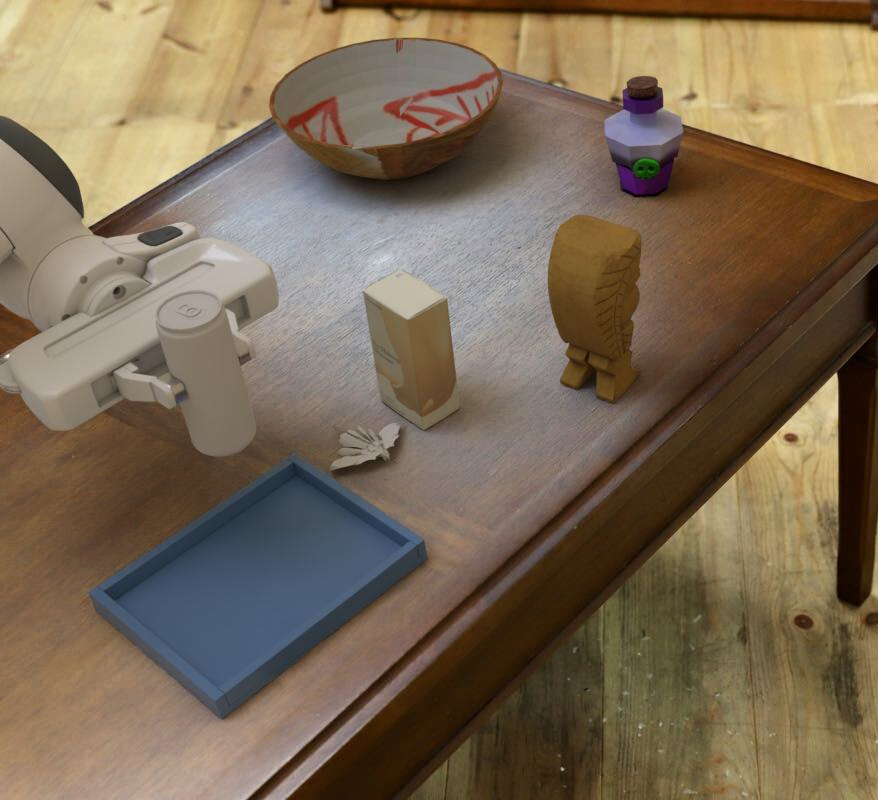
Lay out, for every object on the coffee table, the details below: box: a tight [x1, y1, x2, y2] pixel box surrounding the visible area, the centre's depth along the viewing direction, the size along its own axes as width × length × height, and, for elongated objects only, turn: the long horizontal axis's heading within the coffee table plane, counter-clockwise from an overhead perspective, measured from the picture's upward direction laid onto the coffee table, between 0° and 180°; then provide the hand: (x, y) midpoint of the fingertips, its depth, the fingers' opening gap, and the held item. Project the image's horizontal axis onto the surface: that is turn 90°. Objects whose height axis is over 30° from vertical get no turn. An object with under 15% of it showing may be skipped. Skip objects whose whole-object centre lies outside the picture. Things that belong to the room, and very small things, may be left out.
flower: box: [329, 420, 403, 471], centre depth 116 cm, size 8×8×3 cm
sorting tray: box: [87, 453, 428, 720], centre depth 104 cm, size 20×16×2 cm
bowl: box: [268, 37, 504, 181], centre depth 151 cm, size 25×25×8 cm
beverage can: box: [155, 290, 257, 458], centre depth 99 cm, size 5×5×12 cm
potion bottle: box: [604, 75, 684, 198], centre depth 143 cm, size 9×9×12 cm
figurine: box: [547, 214, 642, 404], centre depth 117 cm, size 7×7×15 cm
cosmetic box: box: [362, 267, 461, 431], centre depth 116 cm, size 6×4×12 cm
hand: (213, 374), depth 98 cm, fingers closed on beverage can, 5 cm apart
